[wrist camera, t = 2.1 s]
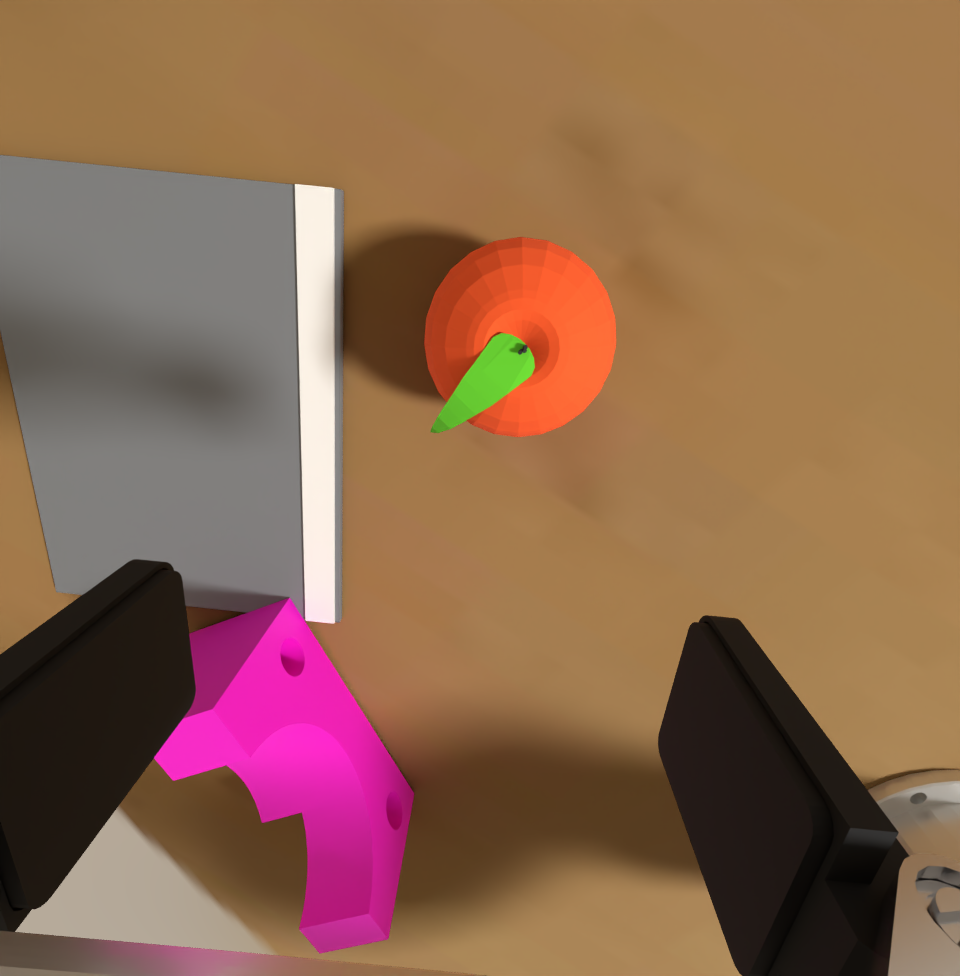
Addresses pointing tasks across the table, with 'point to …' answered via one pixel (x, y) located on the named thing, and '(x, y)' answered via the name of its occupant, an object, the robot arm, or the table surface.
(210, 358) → the mat
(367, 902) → the toy block
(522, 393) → the clementine
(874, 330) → the table surface
